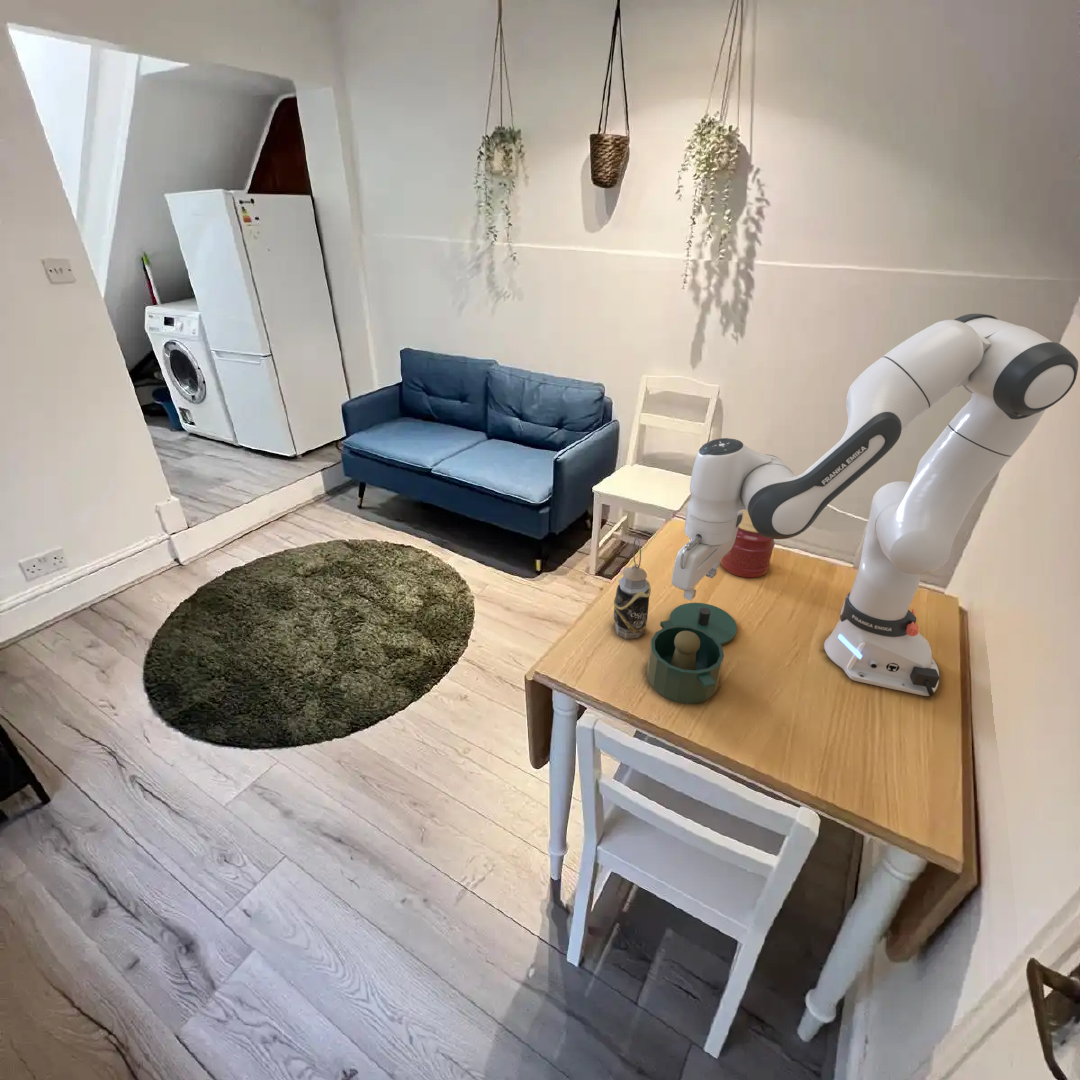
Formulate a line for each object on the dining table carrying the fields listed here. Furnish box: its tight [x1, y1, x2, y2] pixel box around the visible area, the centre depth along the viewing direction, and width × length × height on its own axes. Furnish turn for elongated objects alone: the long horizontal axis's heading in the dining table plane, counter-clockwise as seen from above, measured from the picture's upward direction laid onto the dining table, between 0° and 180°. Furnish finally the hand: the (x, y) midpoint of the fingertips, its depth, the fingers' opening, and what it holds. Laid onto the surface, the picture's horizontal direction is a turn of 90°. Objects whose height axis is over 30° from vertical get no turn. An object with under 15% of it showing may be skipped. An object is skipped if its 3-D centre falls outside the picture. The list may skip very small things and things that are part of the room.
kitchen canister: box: [720, 510, 776, 579], centre depth 156 cm, size 13×13×18 cm
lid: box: [668, 602, 738, 646], centre depth 136 cm, size 16×16×5 cm
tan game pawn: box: [670, 631, 700, 671], centre depth 120 cm, size 6×6×11 cm
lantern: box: [613, 537, 652, 640], centre depth 130 cm, size 9×8×25 cm
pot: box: [646, 619, 725, 705], centre depth 121 cm, size 15×20×8 cm
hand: (700, 586), depth 113 cm, fingers open, 8 cm apart
